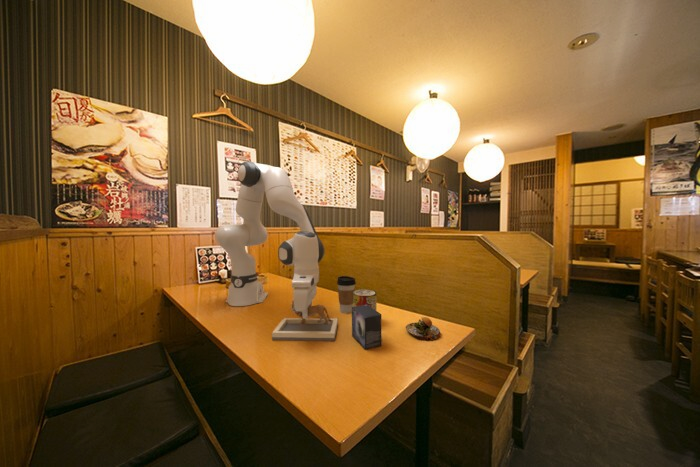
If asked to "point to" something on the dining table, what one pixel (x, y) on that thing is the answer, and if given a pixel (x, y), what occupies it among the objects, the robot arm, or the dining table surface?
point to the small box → (366, 326)
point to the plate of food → (424, 329)
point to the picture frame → (305, 330)
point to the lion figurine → (312, 313)
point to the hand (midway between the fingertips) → (307, 315)
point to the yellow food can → (365, 298)
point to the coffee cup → (346, 293)
